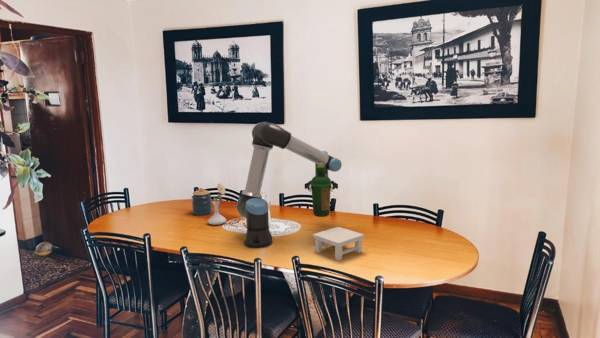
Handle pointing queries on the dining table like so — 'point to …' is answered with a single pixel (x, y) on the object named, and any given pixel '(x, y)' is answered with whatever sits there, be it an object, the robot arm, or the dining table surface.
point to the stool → (338, 240)
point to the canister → (201, 202)
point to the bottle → (321, 192)
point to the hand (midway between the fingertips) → (321, 189)
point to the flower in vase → (217, 217)
